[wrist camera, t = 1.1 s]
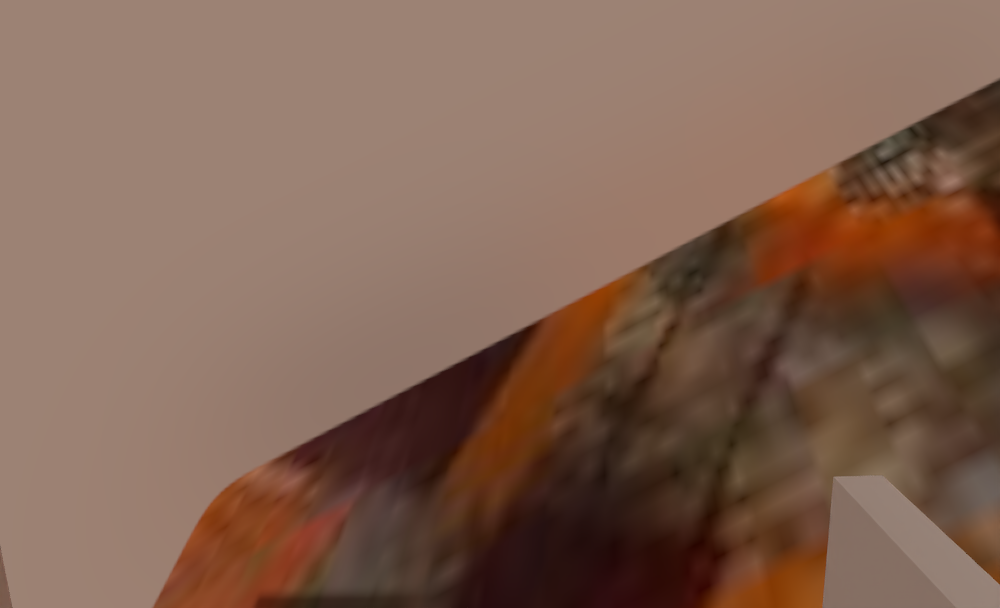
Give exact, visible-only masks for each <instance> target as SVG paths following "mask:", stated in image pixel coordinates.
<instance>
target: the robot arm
mask: <svg viewBox="0 0 1000 608" xmlns="http://www.w3.org/2000/svg"><path fill="white" fill-rule="evenodd" d="M0 608H12V604H11V599H10V594H9V588H8V583H7V579H6V574H5V568H4V564H3V558H2V553H1V548H0ZM823 608H1000V585H999V584H998V583H997V582H996V581H995V580H994V579H993V578H992V577H991V576H990V575H989V574H987V573H986V572H985V571H984V570H983V569H982V568H981V567H980V566H979V565H978V564H977V563H976V562H975V561H974V560H972V559H971V558H970V557H969V556H968V555H967V554H966V553H965V552H964V551H963V550H962V549H961V548H960V547H959V546H957V545H956V544H955V543H954V542H953V541H952V540H951V539H950V538H949V537H948V536H947V535H946V534H945V533H944V532H942V531H941V530H940V529H939V528H938V527H937V526H936V525H935V524H934V523H933V522H932V521H931V520H930V519H929V518H927V517H926V516H925V515H924V514H923V513H922V512H921V511H920V510H919V509H918V508H917V507H916V506H915V505H914V504H912V503H911V502H910V501H909V500H908V499H907V498H906V497H905V496H904V495H903V494H902V493H901V492H900V491H899V490H897V489H896V488H895V487H894V486H893V485H892V484H891V483H890V482H889V481H888V480H887V479H886V478H885V477H884V476H882V475H878V476H843V477H834V478H833V489H832V501H831V513H830V525H829V537H828V549H827V561H826V573H825V585H824V597H823Z"/></svg>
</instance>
